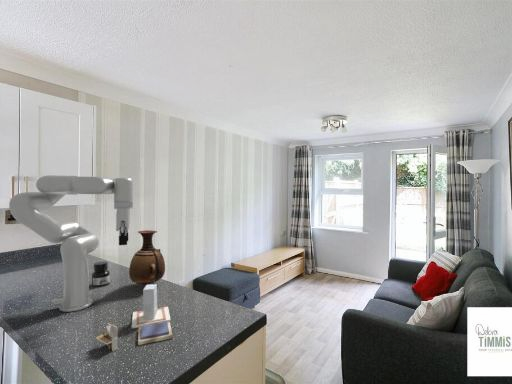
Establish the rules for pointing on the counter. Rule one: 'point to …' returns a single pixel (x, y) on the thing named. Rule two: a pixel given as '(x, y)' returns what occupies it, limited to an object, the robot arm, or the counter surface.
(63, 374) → the counter surface
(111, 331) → the architectural model
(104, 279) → the ink bottle
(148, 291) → the skincare box
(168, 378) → the counter surface
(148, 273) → the vase
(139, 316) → the marked board
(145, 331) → the ink pad
